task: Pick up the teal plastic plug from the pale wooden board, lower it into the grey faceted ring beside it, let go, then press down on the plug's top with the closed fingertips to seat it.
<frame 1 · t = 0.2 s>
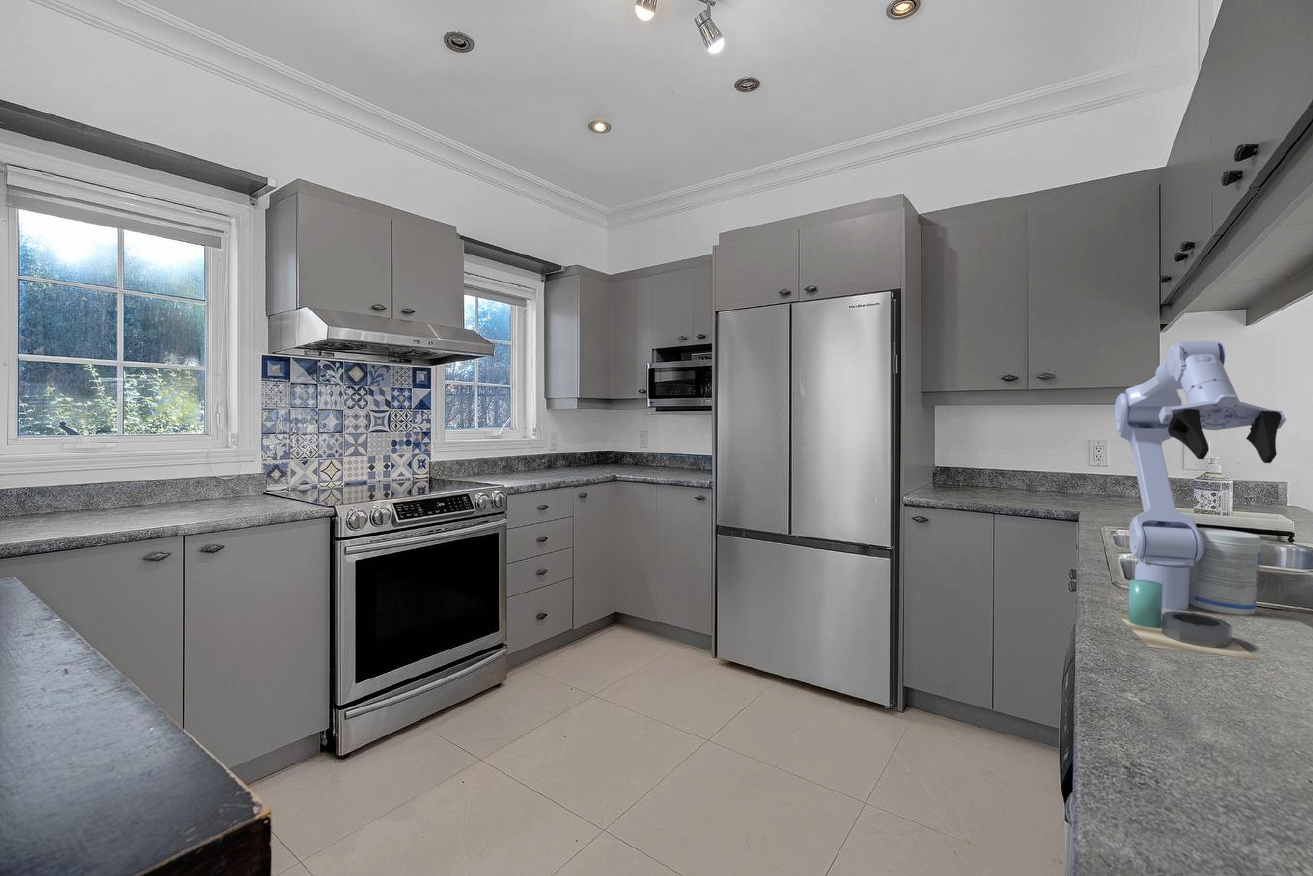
hand: (1236, 456, 88), 31 cm above the countertop, tool tilted 45°, fingers open, 7 cm apart
grey faceted ring: (1195, 638, 97), resting on pale board
supplement tub: (1218, 610, 113), on the countertop, touching arm
pale board: (1180, 640, 98), on the countertop
teal plug: (1144, 623, 104), point 1 cm above the countertop, touching pale board
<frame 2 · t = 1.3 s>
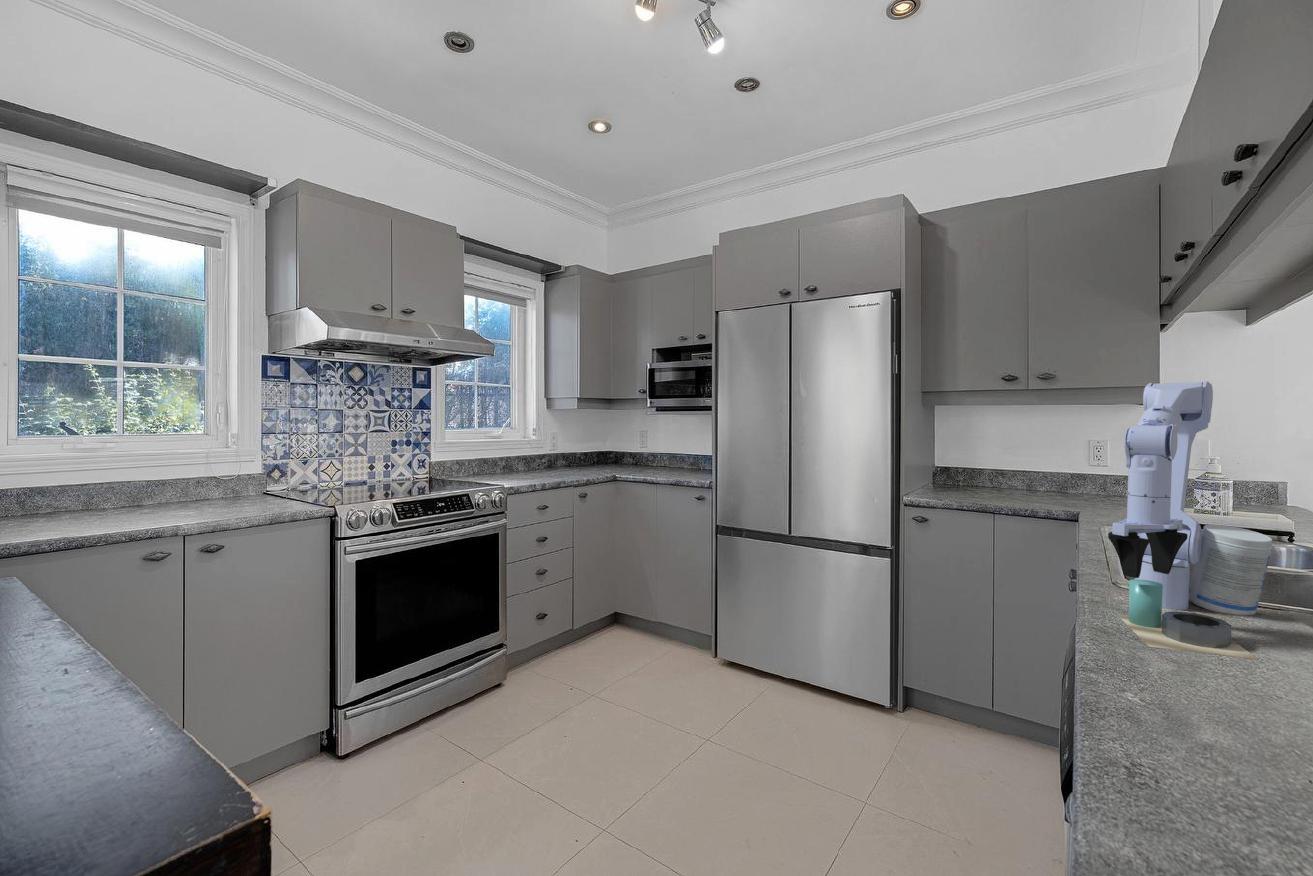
hand: (1146, 574, 104), 9 cm above the countertop, tool pointing down, fingers open, 7 cm apart
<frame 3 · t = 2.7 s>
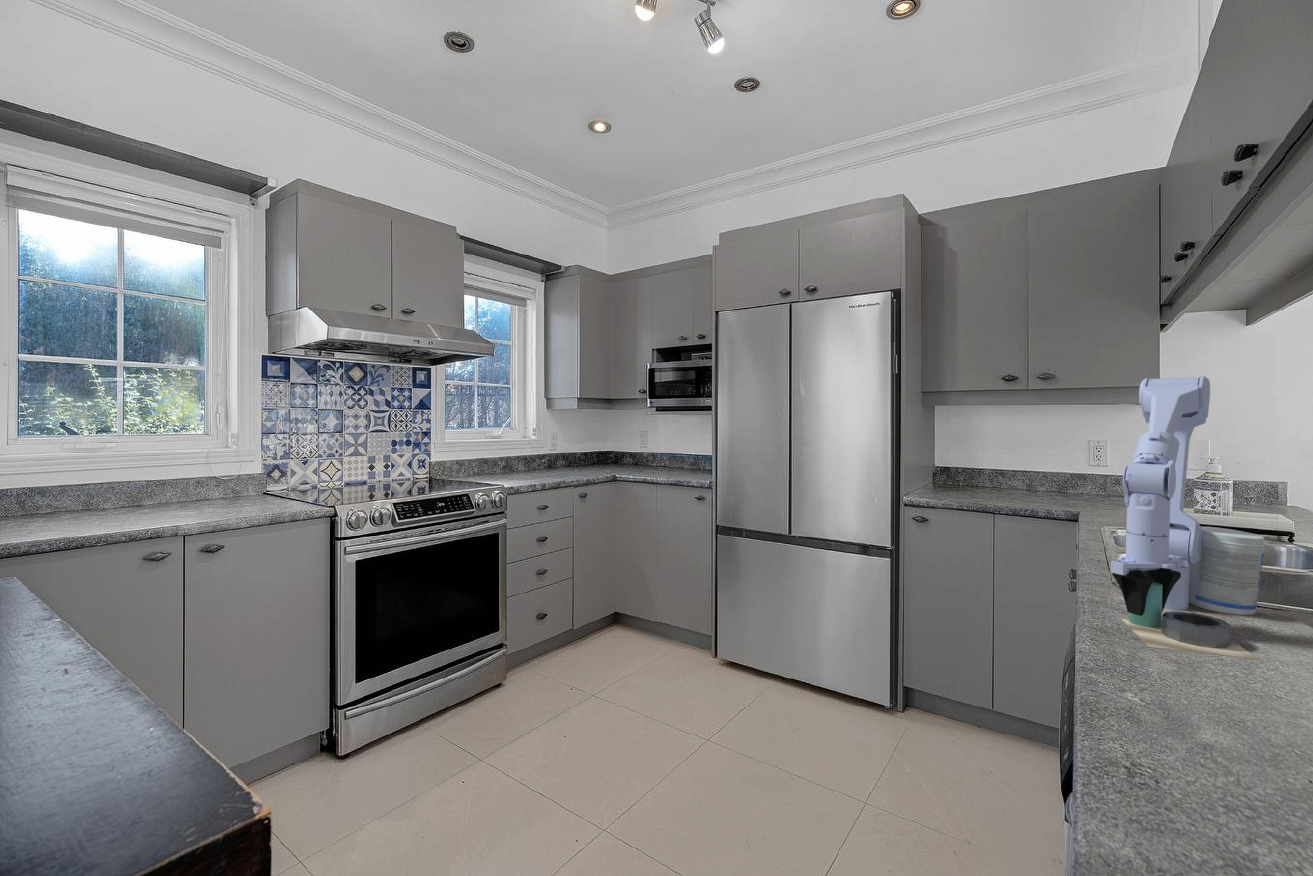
hand: (1144, 612, 104), 3 cm above the countertop, tool pointing down, fingers closed on teal plug, 4 cm apart
teal plug: (1144, 623, 104), point 1 cm above the countertop, touching gripper, pale board
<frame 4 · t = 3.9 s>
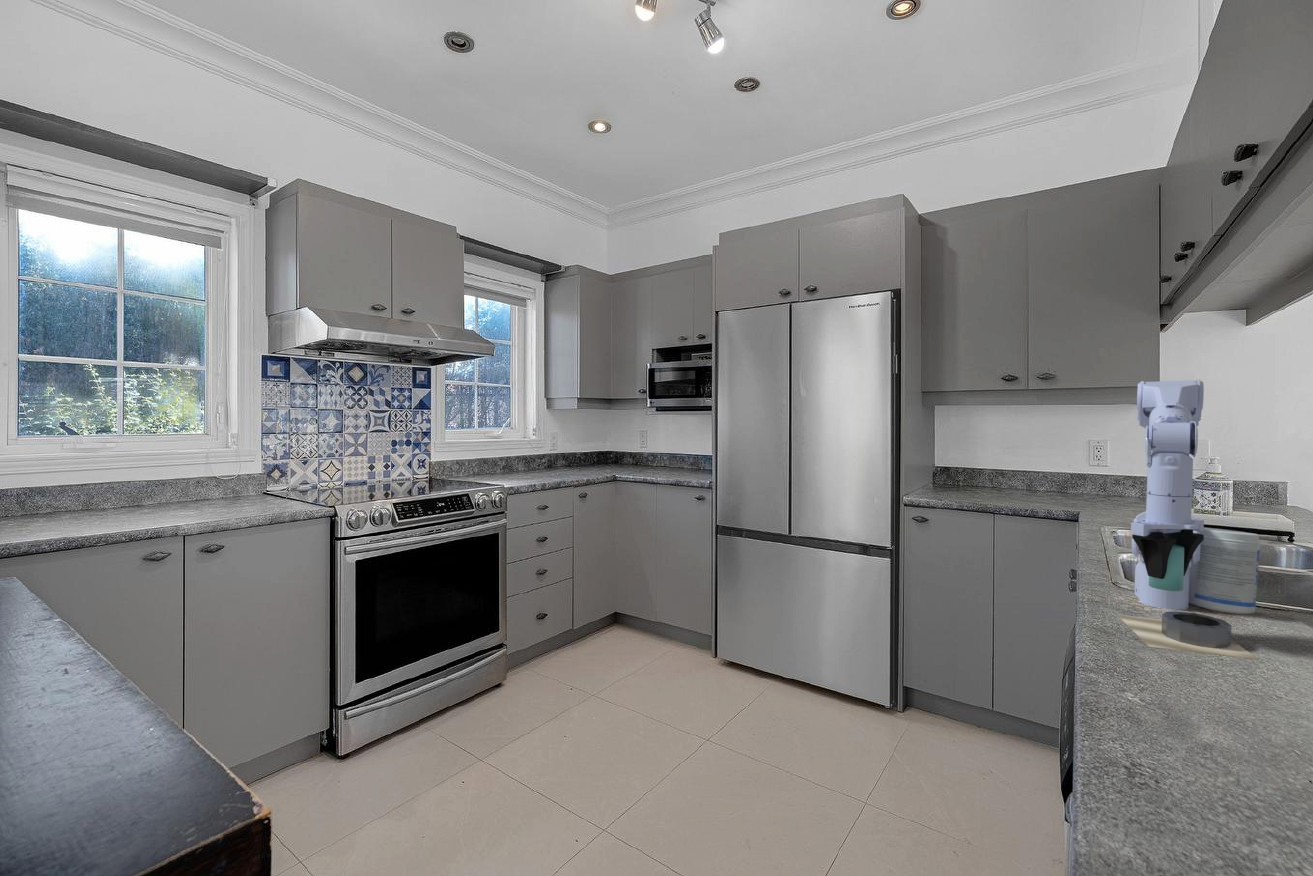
hand: (1166, 576, 101), 10 cm above the countertop, tool pointing down, fingers closed on teal plug, 4 cm apart
teal plug: (1165, 587, 101), point 8 cm above the countertop, touching gripper
when the fingers open (5 cm above the countertop, at t = 5.6 s): teal plug drops 2 cm, resting on pale board.
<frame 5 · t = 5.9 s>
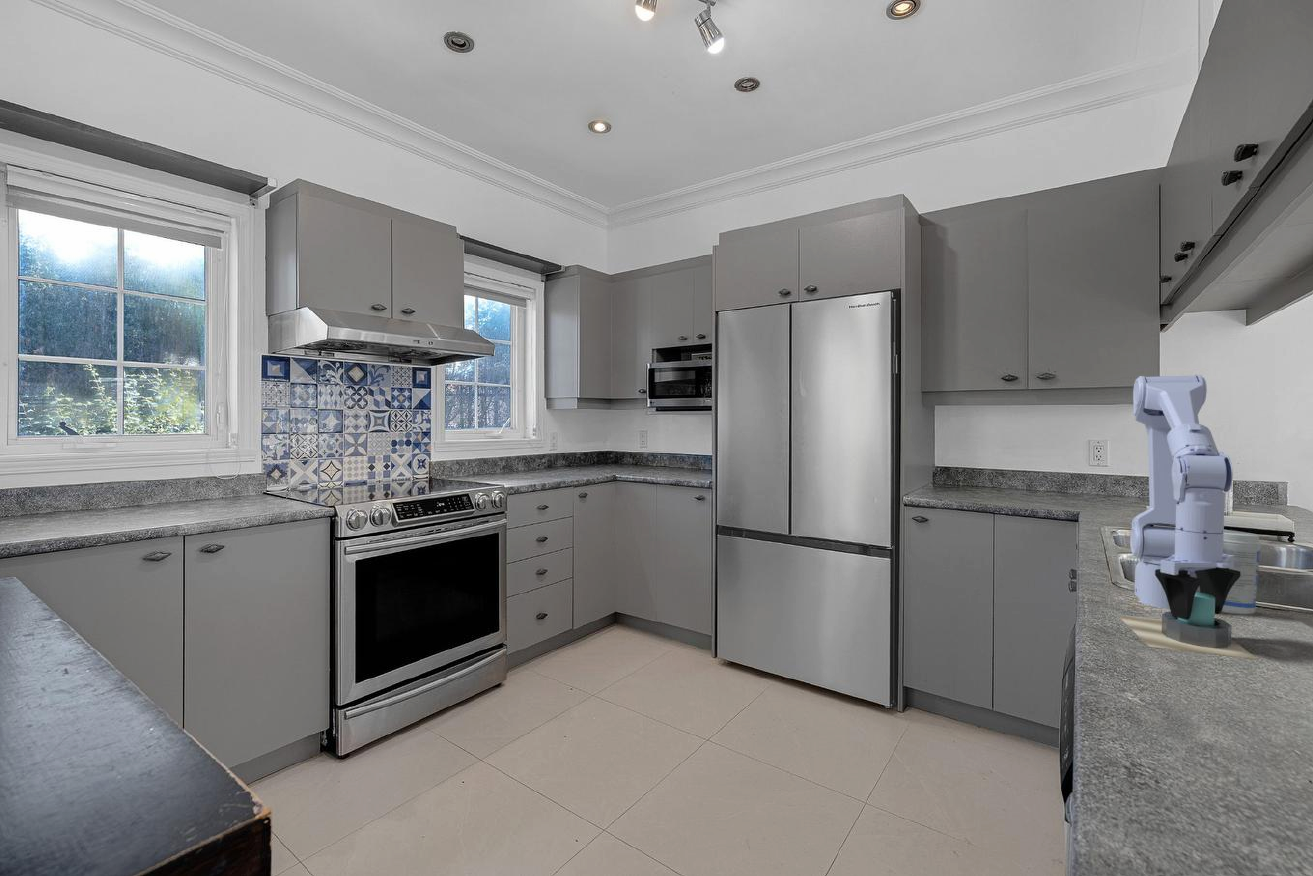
hand: (1196, 614, 97), 5 cm above the countertop, tool pointing down, fingers open, 7 cm apart
teal plug: (1195, 638, 97), point 1 cm above the countertop, touching pale board
everything else where it was.
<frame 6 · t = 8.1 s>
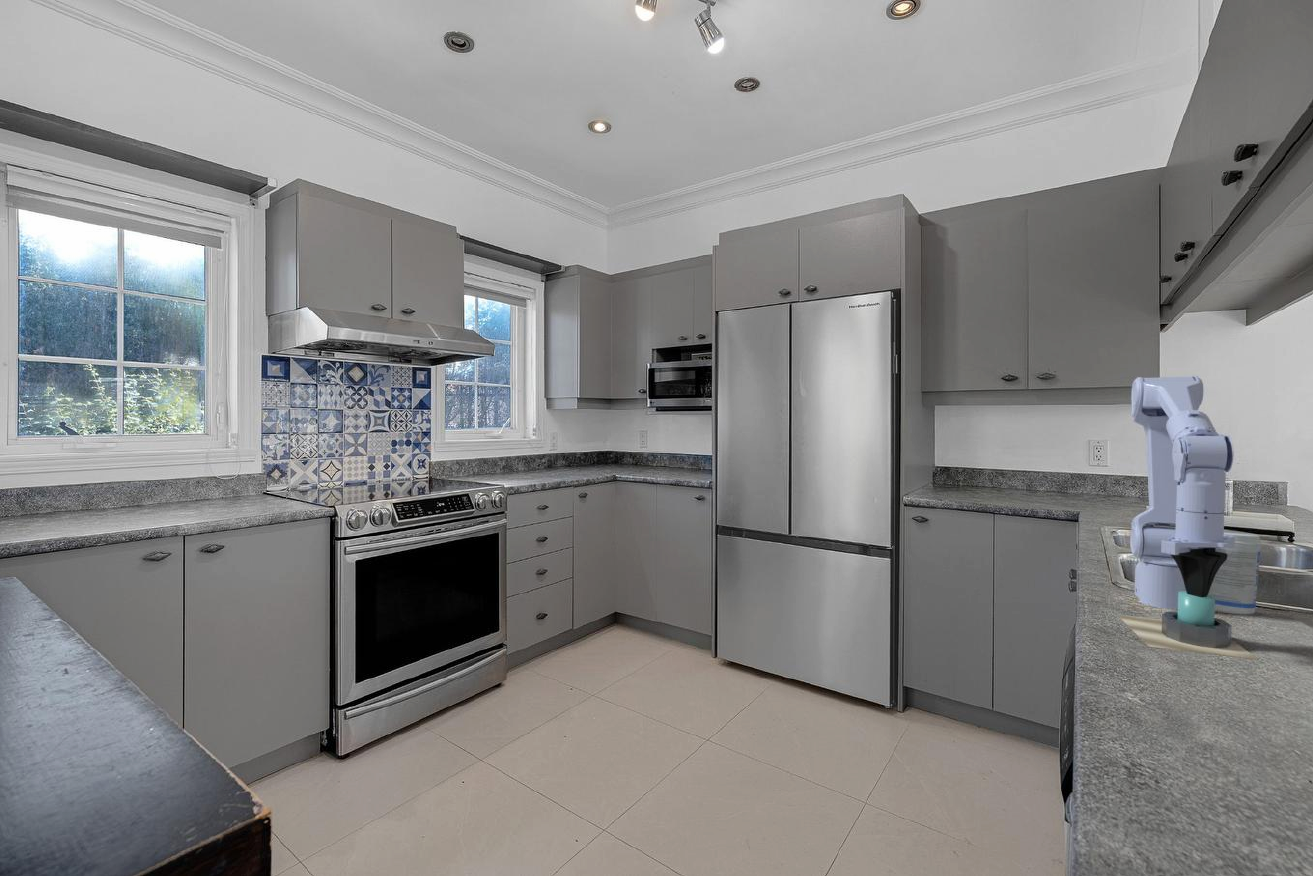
hand: (1196, 595, 97), 8 cm above the countertop, tool pointing down, fingers closed, pressing on teal plug
teal plug: (1195, 638, 97), point 1 cm above the countertop, touching gripper, pale board
everything else where it was.
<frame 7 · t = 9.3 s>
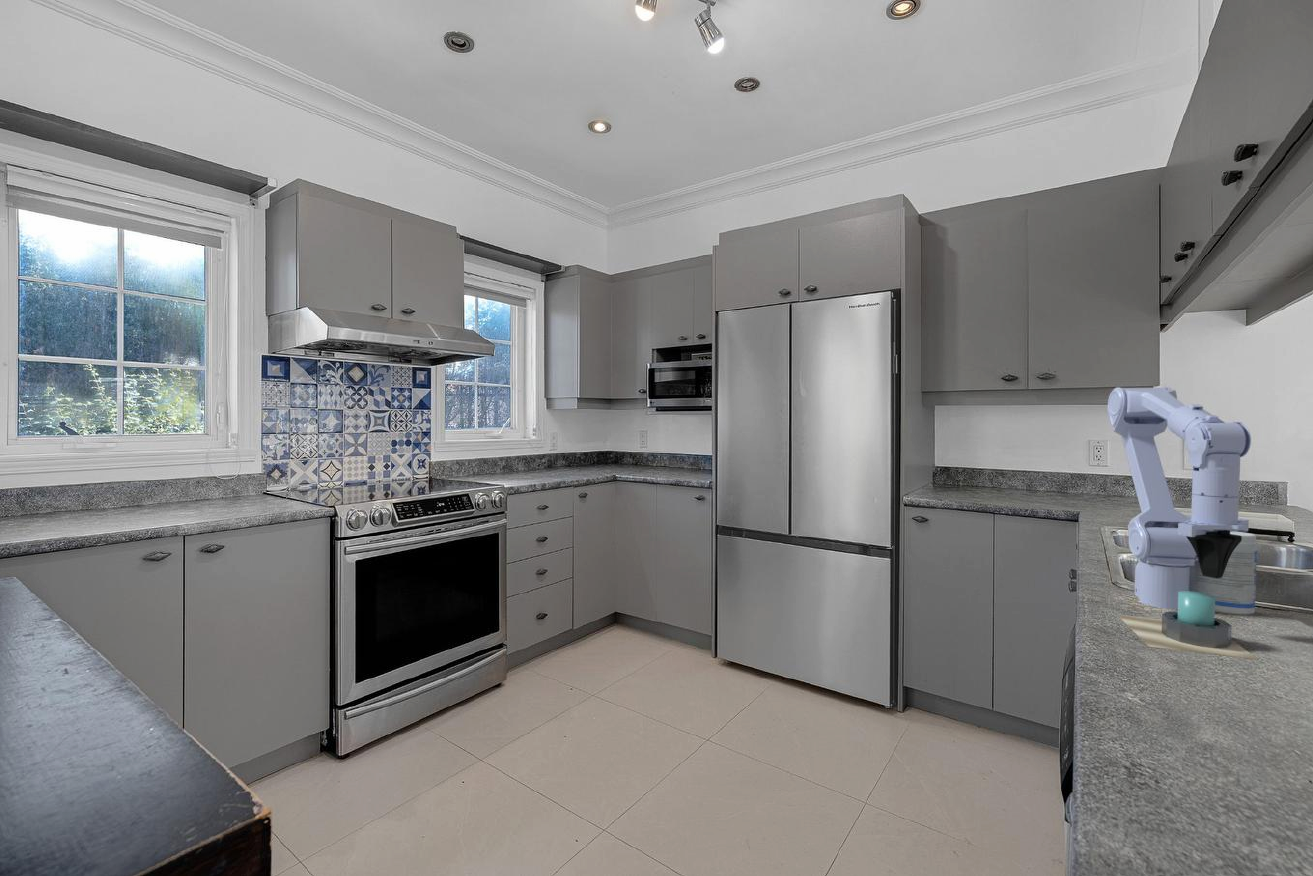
hand: (1212, 576, 101), 10 cm above the countertop, tool pointing down, fingers closed
teal plug: (1195, 638, 97), point 1 cm above the countertop, touching pale board
everything else where it was.
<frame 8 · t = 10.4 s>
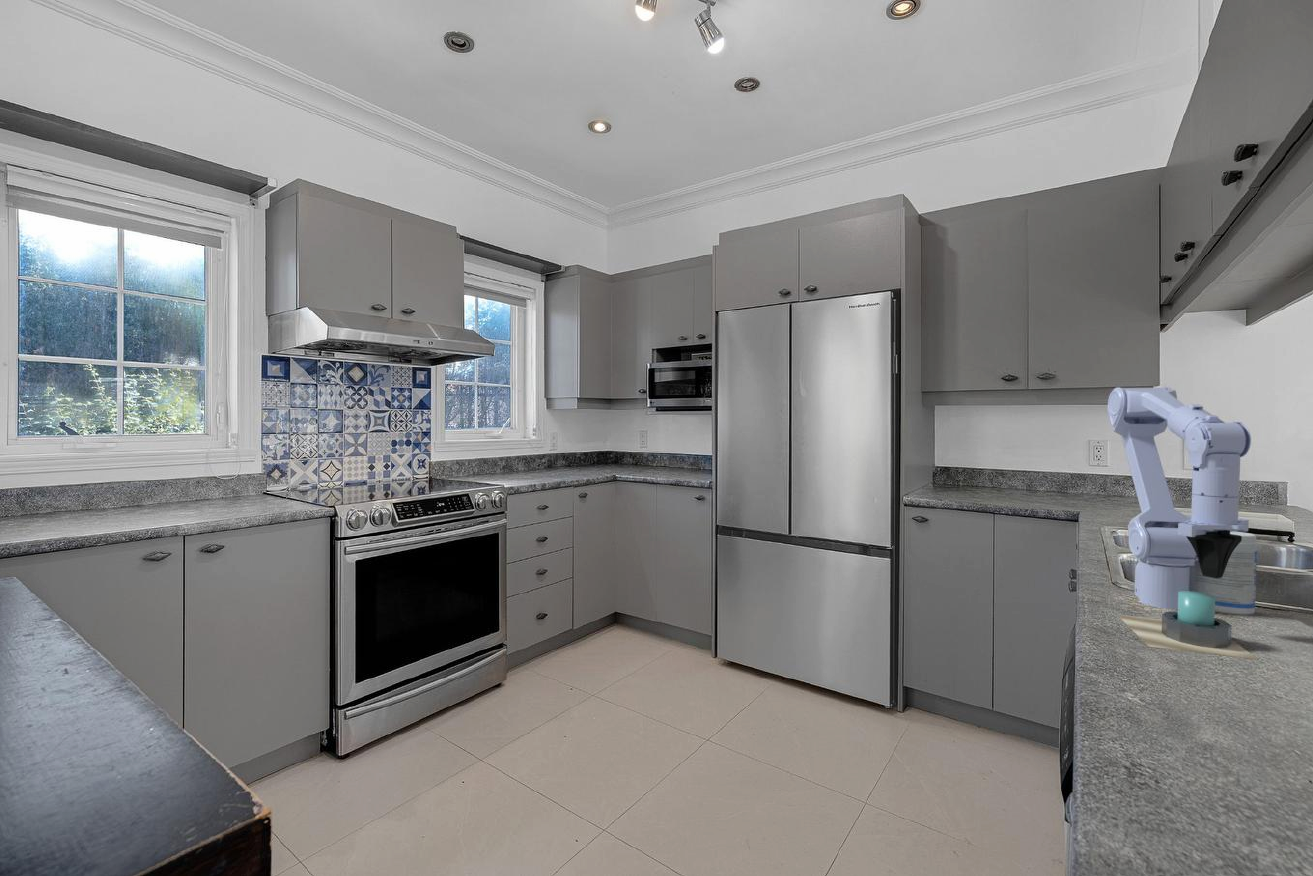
hand: (1212, 576, 101), 10 cm above the countertop, tool pointing down, fingers closed
nothing on the countertop moved.
at the end: teal plug 0.0 cm off-centre on the grey faceted ring, point 0.0 cm above the grey faceted ring's base; teal plug tilted 0°; the gripper is holding nothing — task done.
